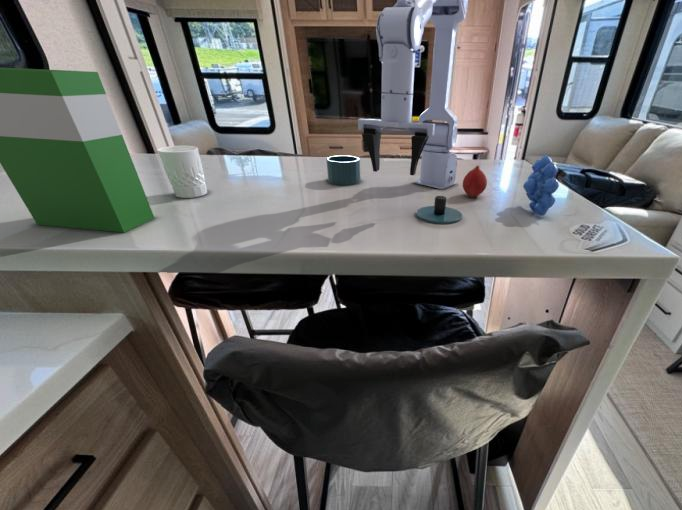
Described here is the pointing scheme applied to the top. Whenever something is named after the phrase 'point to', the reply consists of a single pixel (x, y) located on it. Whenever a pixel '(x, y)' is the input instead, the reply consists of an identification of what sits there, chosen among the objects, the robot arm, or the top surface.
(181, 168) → the white cup
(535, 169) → the grapes
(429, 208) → the lid
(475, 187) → the onion
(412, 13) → the robot arm
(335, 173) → the pot
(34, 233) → the top surface
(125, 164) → the hardback book
